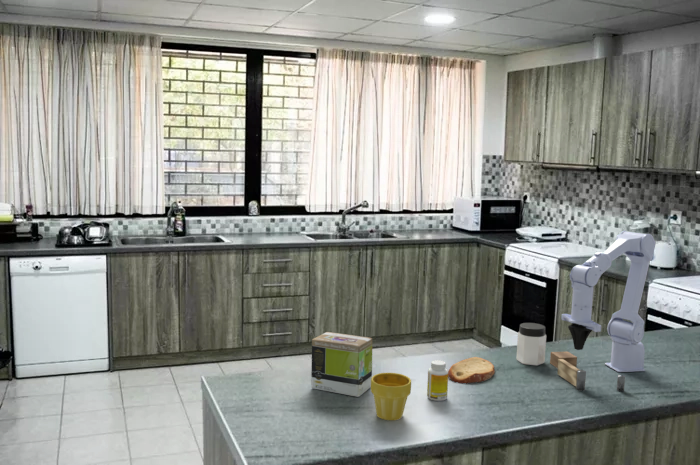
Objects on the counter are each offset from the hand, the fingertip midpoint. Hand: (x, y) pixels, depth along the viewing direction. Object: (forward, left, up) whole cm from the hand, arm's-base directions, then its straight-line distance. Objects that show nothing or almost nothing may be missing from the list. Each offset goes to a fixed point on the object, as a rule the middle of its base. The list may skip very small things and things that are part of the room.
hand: (578, 349), depth 199 cm
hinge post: (+3, +8, -10) cm, 13 cm away
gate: (+3, +1, -9) cm, 10 cm away
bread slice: (+30, -10, -10) cm, 33 cm away
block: (-2, -13, -10) cm, 16 cm away
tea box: (+72, -2, -10) cm, 73 cm away
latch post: (-8, +10, -10) cm, 16 cm away
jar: (+6, -18, -10) cm, 21 cm away
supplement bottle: (+47, +9, -10) cm, 49 cm away
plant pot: (+63, +19, -10) cm, 67 cm away
